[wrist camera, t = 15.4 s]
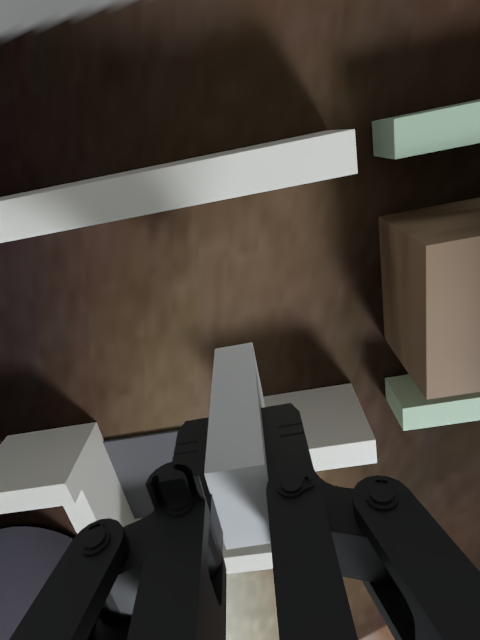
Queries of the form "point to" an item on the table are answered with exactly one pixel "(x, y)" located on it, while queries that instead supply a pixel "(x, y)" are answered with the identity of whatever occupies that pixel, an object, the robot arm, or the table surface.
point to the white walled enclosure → (158, 448)
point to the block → (434, 295)
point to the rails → (410, 140)
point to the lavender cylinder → (25, 570)
